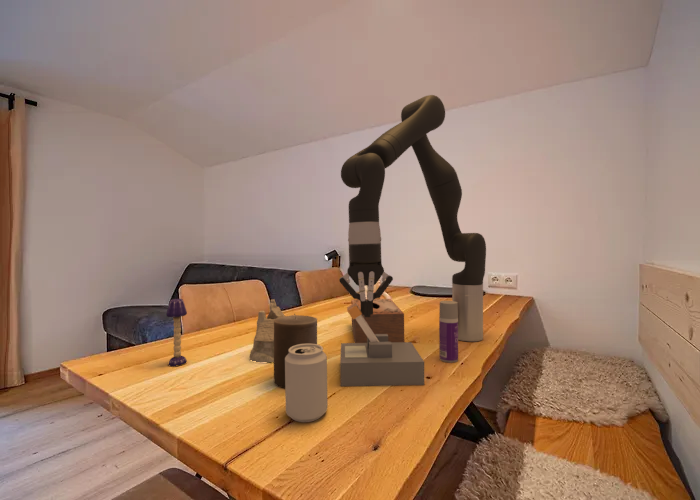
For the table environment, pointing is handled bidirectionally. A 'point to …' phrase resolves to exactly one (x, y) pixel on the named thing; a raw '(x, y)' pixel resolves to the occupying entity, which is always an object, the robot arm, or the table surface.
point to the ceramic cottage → (265, 335)
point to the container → (448, 331)
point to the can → (306, 382)
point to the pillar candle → (291, 340)
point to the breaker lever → (361, 321)
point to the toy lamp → (177, 329)
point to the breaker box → (380, 363)
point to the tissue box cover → (381, 321)
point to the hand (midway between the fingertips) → (366, 316)
